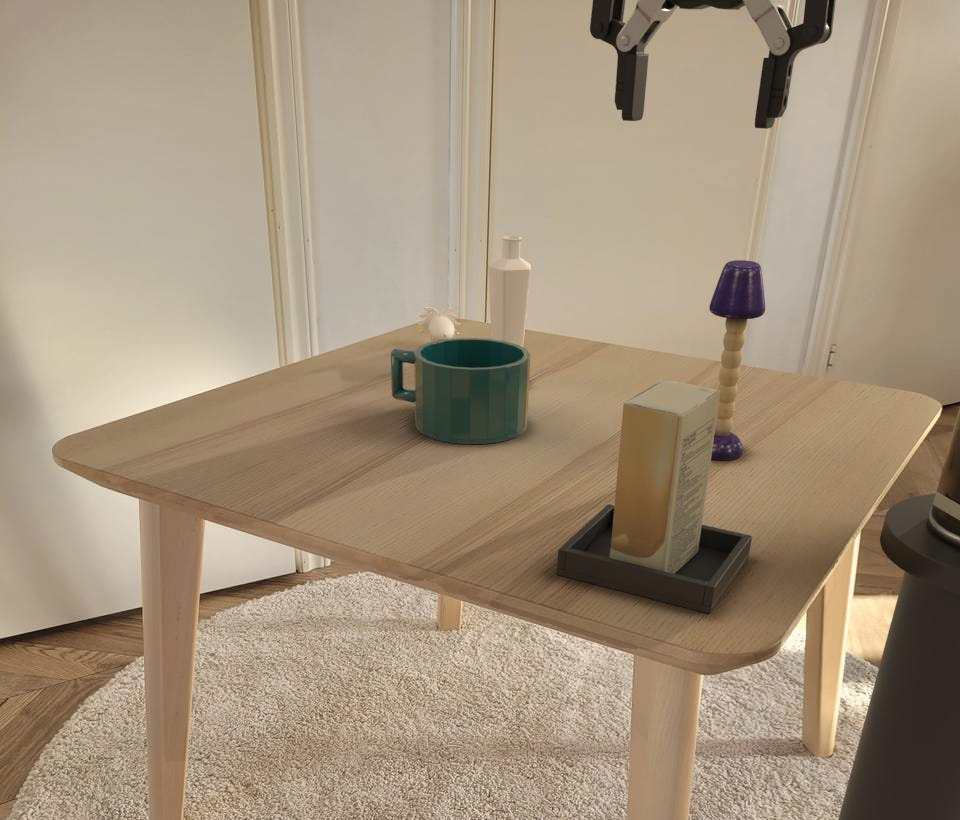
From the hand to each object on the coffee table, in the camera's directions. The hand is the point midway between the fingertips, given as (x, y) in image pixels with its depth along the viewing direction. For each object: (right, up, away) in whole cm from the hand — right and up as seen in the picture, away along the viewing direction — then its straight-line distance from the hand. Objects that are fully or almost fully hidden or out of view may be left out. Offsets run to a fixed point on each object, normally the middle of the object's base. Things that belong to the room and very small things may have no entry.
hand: (696, 124), depth 63 cm
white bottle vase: (-10, -5, +46) cm, 48 cm away
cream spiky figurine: (-18, +1, +56) cm, 59 cm away
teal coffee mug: (-16, -11, +35) cm, 40 cm away
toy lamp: (+8, -15, +29) cm, 34 cm away
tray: (-1, -27, +9) cm, 29 cm away
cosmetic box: (-1, -27, +9) cm, 28 cm away
